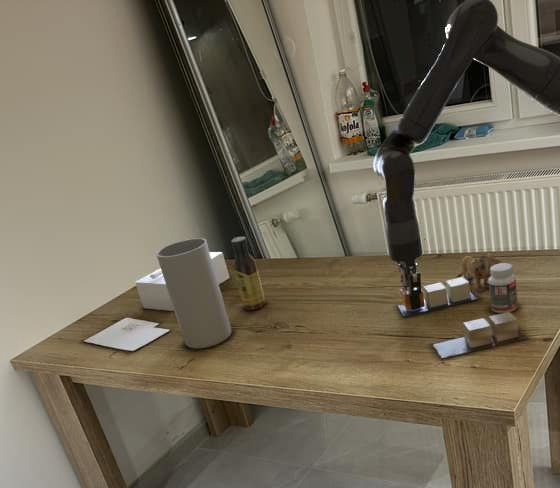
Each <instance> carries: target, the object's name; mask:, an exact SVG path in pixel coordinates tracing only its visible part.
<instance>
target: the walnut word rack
mask: <svg viewBox="0 0 560 488" xmlns="http://www.w3.org/2000/svg"><path fill="white" fill-rule="evenodd" d="M462 328H463V337H459V338H454V339H449V340H446V341H441V342H438V343H433V344H432V347H433V349H434V350H435V351H436V353H437V354H438V356H439V358H440V359H441V360H445V359H446V360H447V359H450V358H454V357H458V356H462V355H467V354H471V353H476V352H480V351H484V350H488V349H492V348H497V347H501V346H506V345H509V344H514V343H518V342H522V341H527V338H526V336H525V335H523V333H521V331H520V330H519V321H518V318H517V317H516V316H514V314H512V313H511V312H506V313H498V314H494V315H489V316H488V321H487V320H486V319H485V317H481V318H478V319H473V320H469V321H465V322H462Z"/></svg>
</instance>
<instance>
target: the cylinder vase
mask: <svg viewBox="0 0 560 488" xmlns="http://www.w3.org/2000/svg"><path fill="white" fill-rule="evenodd" d="M209 252H210V249H209V246H208V243H207V239H205V238H201V237H199V238H198V237H197V238H188V239H184V240H180V241H176V242H174V243H173V242H172V243H171V244H168V245H166V246H163V247H162V248H161V249H159V250H158V251H157V252H156V257H157V260H158V264H159V267H160V268H161V270H162V273H163V276H164V280H165V283H166V286H167V289H168V292H169V295H170V298H171V301H172V304H173V308H174V311H173V312H174V314H175V316H176V320H177V323H178V326H179V330H180V332H181V335H182V339H183V341H184V345H185V346H187V347H188V348H190V349H194V350H195V349H196V350H198V349H199V350H200V349H206V348H207V349H208V348H211V347H214V346H217V345H220V344H221V343H223V342H225V341H226V340H227V339H228V338H229V337H230V336H231V334H232V327H231V324H230V320H229V316H228V313H227V310H226V306H225V302H224V298H223V295H222V292H221V288H220V284H218V281H217V277H216V274H215V270H214V267H213V263H212V260H211V256H210V253H209Z"/></svg>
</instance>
